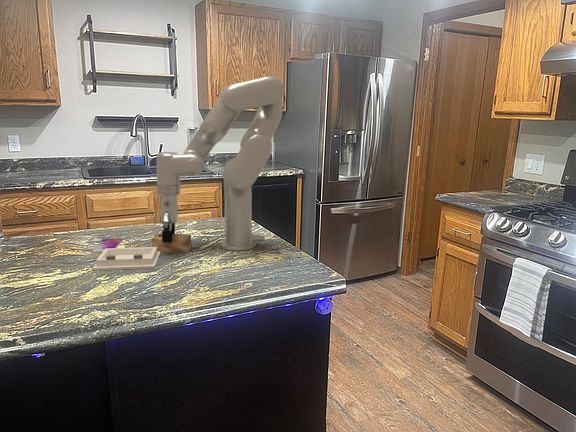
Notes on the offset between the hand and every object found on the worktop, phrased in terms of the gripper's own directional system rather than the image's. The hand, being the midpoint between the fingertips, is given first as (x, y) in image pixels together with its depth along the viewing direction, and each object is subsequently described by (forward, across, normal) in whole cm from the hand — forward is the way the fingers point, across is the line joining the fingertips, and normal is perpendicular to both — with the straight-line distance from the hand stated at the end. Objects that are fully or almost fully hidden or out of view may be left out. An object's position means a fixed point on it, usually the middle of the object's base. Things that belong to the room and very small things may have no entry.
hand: (168, 238), depth 148 cm
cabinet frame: (+5, -11, +11) cm, 16 cm away
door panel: (+4, 0, -1) cm, 5 cm away
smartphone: (+6, +6, +22) cm, 23 cm away
